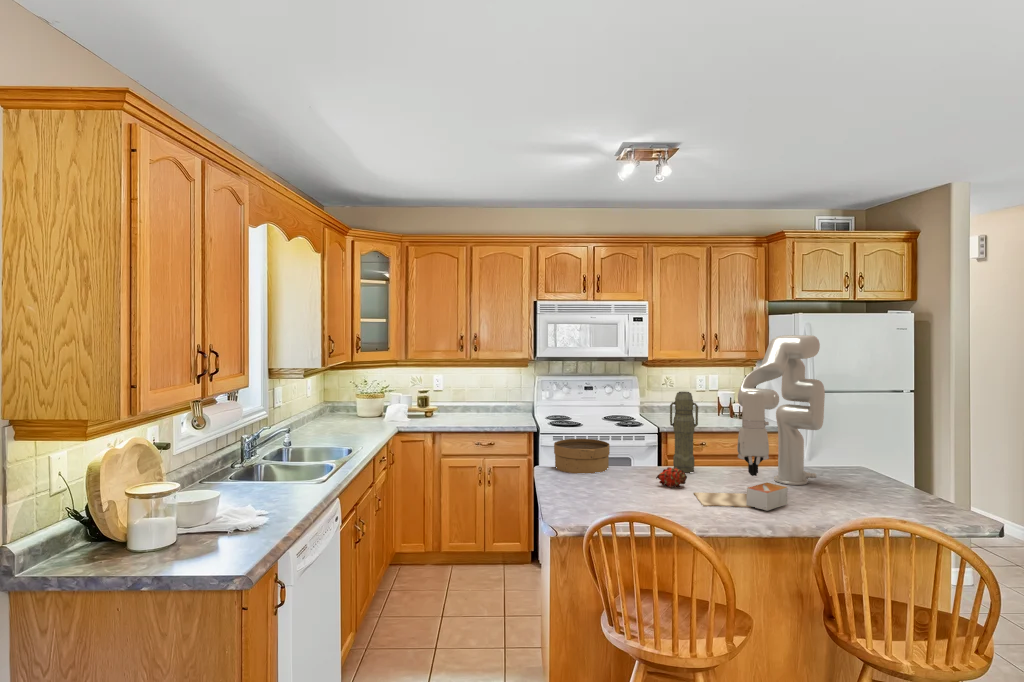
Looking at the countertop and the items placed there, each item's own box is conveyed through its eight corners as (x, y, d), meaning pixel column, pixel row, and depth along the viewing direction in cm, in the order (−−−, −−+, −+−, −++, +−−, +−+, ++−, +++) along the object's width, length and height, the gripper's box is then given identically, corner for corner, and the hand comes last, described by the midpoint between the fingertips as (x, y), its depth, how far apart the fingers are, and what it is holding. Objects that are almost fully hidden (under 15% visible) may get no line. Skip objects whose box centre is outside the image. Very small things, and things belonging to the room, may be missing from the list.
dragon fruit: (689, 492, 237) (658, 494, 240) (687, 475, 243) (656, 478, 246) (687, 478, 232) (655, 480, 235) (684, 461, 239) (654, 464, 242)
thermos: (699, 473, 260) (699, 393, 259) (671, 473, 261) (671, 393, 261) (695, 469, 269) (696, 391, 268) (668, 468, 270) (669, 390, 269)
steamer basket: (605, 475, 257) (605, 449, 257) (548, 472, 265) (548, 447, 265) (613, 463, 281) (612, 439, 281) (561, 461, 289) (560, 437, 288)
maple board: (758, 495, 226) (758, 493, 226) (773, 507, 210) (773, 506, 210) (693, 494, 228) (693, 492, 228) (703, 506, 213) (703, 504, 213)
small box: (788, 486, 212) (767, 492, 205) (787, 504, 213) (767, 511, 205) (766, 481, 219) (746, 487, 211) (766, 498, 219) (745, 505, 211)
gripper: (771, 423, 221) (770, 473, 222) (729, 422, 223) (729, 472, 223) (778, 426, 214) (778, 478, 214) (735, 426, 215) (734, 477, 215)
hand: (753, 474), depth 219 cm, fingers closed
